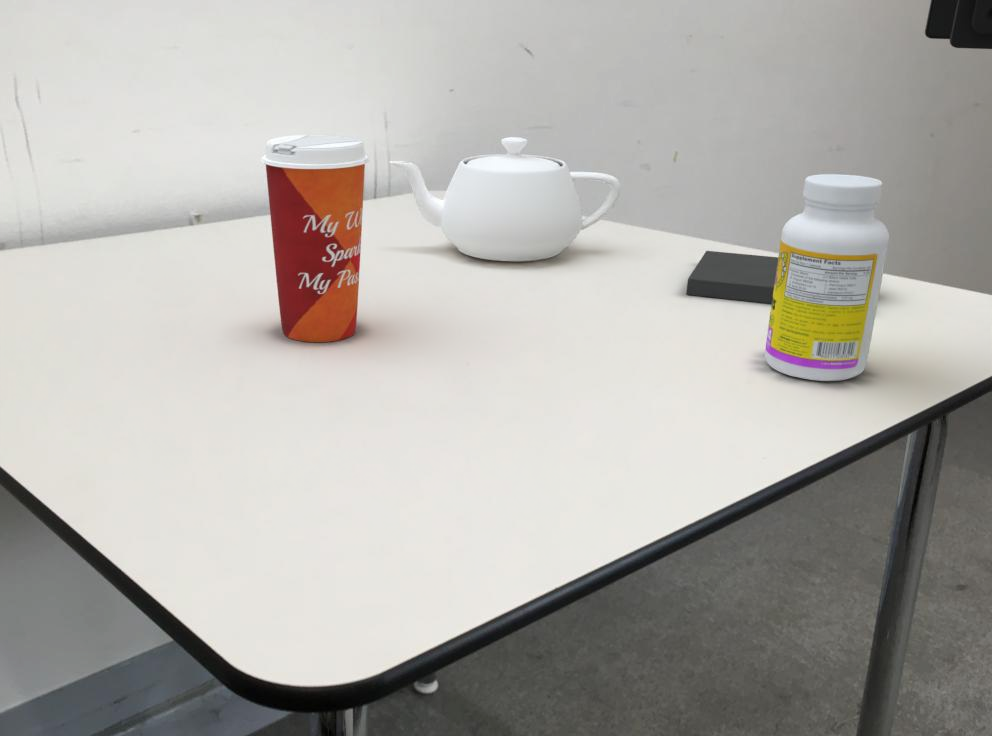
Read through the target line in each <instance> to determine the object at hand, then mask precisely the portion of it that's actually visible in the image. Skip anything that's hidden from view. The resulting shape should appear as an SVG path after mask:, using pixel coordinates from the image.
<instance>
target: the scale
mask: <svg viewBox="0 0 992 736" xmlns="http://www.w3.org/2000/svg"><path fill="white" fill-rule="evenodd" d="M778 257H779V256H770V255H769V256H768V255H757V254H747V253H745V254H744V253H736V252H725V251H715V250H705V252H704V254H703V255H702V256H701V259H699V261H698V263H697V264H696V266H695V267H694V269H693V271H691V274H690V275H689V276H688V278H687V284H686V292H685V295H687V296H696V297H706V298H715V299H723V300H724V299H725V300H733V301H734V300H735V301H744V302H753V303H760V304H761V303H762V304H771V305H772V299H773V291H774V284H775V278H776V271H777V264H778Z"/></svg>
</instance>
